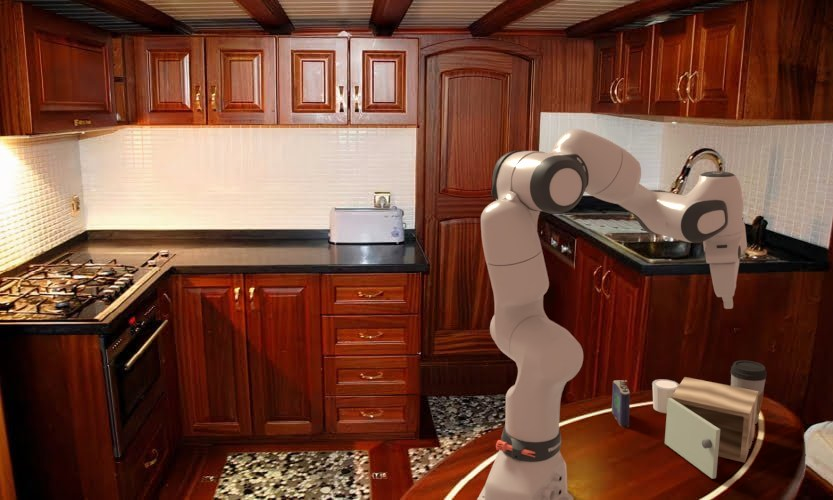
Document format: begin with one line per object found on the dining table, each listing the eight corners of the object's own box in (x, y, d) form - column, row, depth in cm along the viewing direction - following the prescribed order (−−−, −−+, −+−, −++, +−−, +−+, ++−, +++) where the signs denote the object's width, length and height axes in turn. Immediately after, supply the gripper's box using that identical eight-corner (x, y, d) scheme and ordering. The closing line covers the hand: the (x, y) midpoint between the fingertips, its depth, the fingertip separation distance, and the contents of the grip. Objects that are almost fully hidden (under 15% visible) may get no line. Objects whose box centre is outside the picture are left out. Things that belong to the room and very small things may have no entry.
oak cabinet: (744, 462, 160) (749, 413, 158) (667, 443, 169) (670, 397, 167) (754, 437, 172) (758, 391, 169) (681, 420, 181) (684, 376, 178)
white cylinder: (680, 415, 184) (681, 390, 182) (652, 413, 185) (654, 388, 184) (676, 404, 190) (677, 379, 189) (649, 402, 192) (650, 378, 190)
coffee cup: (759, 431, 175) (765, 374, 171) (723, 423, 179) (728, 368, 176) (763, 418, 181) (769, 363, 178) (728, 411, 186) (733, 357, 182)
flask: (610, 411, 187) (612, 373, 184) (621, 411, 187) (623, 373, 184) (620, 427, 178) (622, 388, 175) (632, 427, 178) (634, 387, 175)
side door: (707, 479, 153) (711, 431, 150) (660, 444, 168) (663, 399, 166) (716, 478, 153) (720, 429, 151) (668, 442, 169) (671, 398, 166)
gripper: (713, 226, 167) (719, 280, 171) (704, 259, 150) (711, 318, 154) (742, 224, 164) (748, 279, 168) (737, 258, 147) (743, 318, 151)
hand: (730, 298), depth 161 cm, fingers open, 8 cm apart
